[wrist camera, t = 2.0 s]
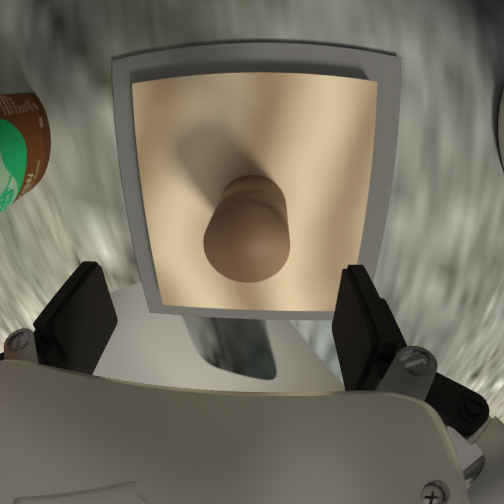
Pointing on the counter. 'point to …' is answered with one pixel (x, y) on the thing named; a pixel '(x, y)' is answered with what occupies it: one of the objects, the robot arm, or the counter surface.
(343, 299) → the robot arm
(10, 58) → the counter surface
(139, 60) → the mat
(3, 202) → the food container
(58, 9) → the counter surface
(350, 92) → the lid
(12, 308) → the counter surface
